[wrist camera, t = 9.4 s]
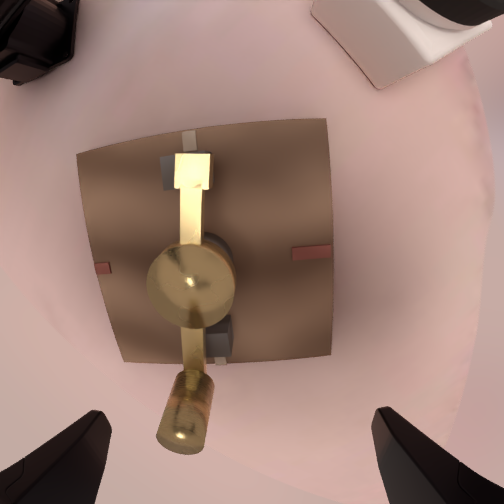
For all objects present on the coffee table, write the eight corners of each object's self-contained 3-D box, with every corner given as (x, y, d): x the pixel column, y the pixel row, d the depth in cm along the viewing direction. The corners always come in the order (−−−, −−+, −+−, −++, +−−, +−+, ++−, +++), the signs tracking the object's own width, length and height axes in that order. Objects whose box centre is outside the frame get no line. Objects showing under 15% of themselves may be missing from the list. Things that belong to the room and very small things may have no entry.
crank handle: (166, 381, 18) (142, 446, 13) (155, 154, 14) (98, 153, 8) (232, 388, 18) (224, 459, 13) (242, 155, 14) (232, 152, 8)
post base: (85, 153, 18) (52, 155, 14) (322, 120, 17) (337, 111, 13) (129, 353, 22) (111, 382, 19) (327, 345, 22) (338, 378, 18)
